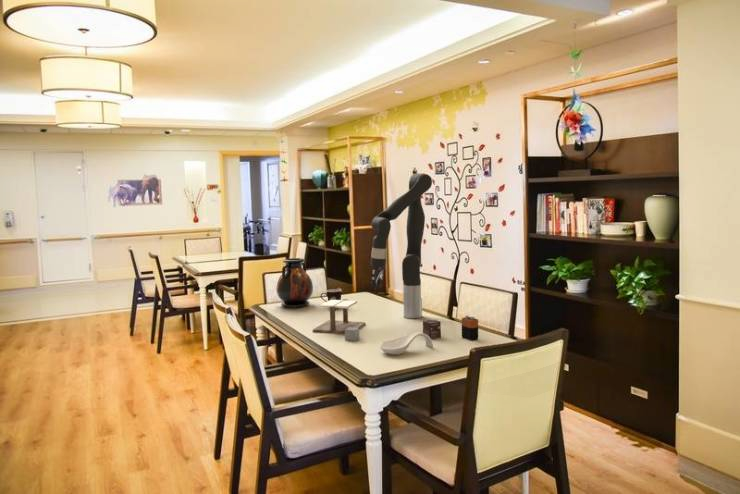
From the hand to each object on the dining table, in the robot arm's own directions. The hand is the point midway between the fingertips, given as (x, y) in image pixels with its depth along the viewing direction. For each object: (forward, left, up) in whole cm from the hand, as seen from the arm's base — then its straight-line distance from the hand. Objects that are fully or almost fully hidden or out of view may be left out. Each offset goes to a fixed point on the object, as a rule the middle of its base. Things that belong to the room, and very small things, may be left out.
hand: (376, 288), depth 278 cm
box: (-33, +22, -18) cm, 43 cm away
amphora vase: (+60, -29, -18) cm, 69 cm away
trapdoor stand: (+14, +16, -17) cm, 28 cm away
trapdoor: (+14, +16, -5) cm, 22 cm away
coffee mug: (+36, -30, -18) cm, 50 cm away
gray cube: (+1, +34, -18) cm, 38 cm away
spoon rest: (-27, +46, -18) cm, 56 cm away
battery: (-50, +21, -18) cm, 57 cm away
